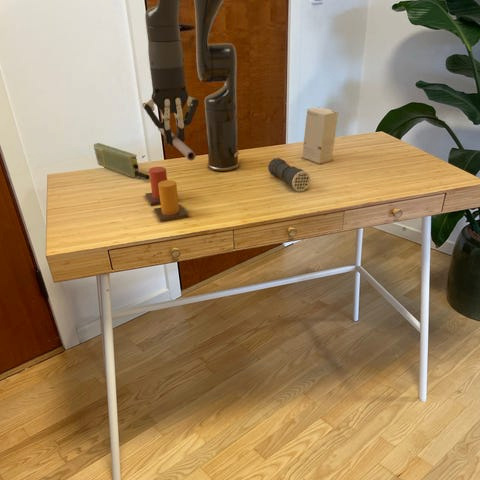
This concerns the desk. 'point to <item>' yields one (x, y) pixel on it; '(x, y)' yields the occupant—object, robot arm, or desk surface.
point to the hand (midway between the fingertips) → (175, 144)
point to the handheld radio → (118, 160)
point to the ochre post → (169, 202)
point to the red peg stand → (155, 184)
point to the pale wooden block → (319, 134)
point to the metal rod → (181, 146)
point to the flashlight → (289, 174)
